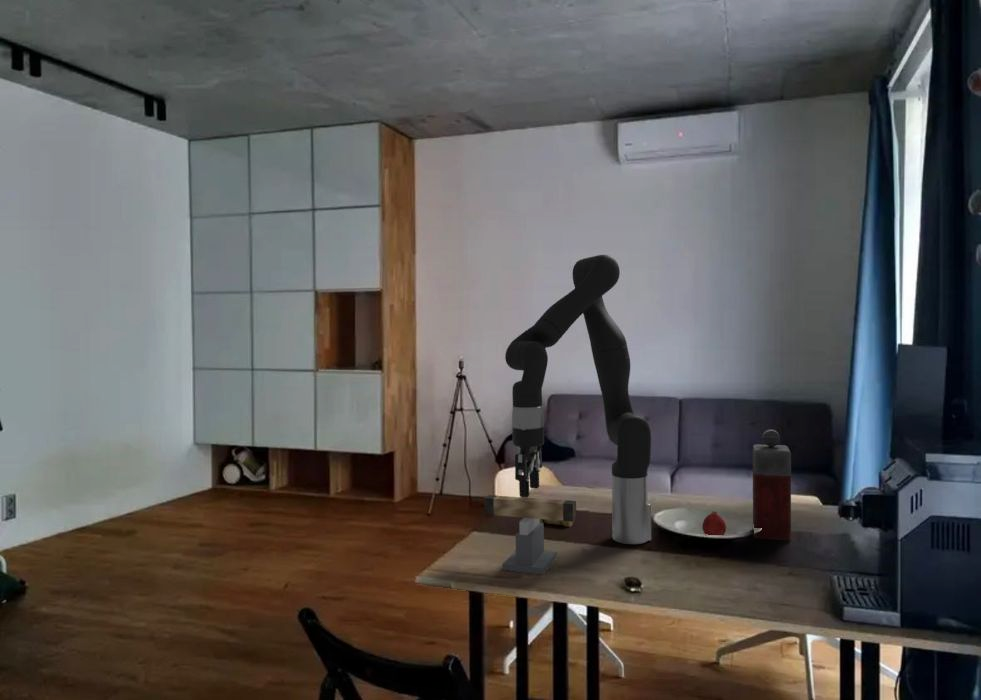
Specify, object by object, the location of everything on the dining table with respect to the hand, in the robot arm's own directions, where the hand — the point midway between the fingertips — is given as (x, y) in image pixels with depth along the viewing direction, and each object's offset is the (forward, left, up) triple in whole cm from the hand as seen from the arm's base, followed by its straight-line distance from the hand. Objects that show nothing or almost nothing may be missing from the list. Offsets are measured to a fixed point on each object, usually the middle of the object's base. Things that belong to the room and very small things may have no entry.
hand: (529, 492), depth 164 cm
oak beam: (0, 0, -6) cm, 6 cm away
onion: (-51, -1, -18) cm, 54 cm away
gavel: (-22, -35, -18) cm, 45 cm away
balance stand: (0, 0, -17) cm, 17 cm away
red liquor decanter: (-69, -2, -18) cm, 71 cm away
